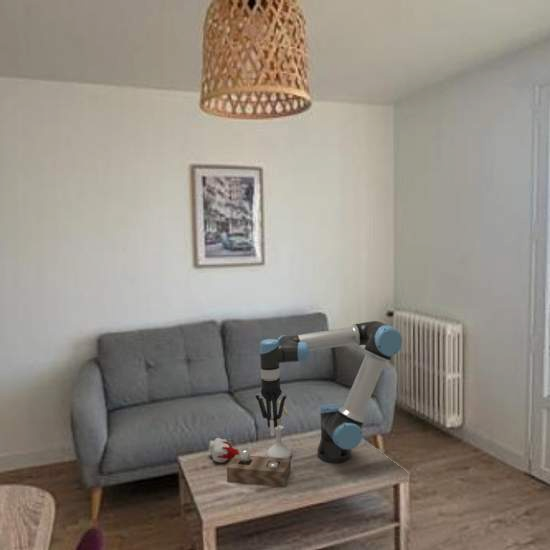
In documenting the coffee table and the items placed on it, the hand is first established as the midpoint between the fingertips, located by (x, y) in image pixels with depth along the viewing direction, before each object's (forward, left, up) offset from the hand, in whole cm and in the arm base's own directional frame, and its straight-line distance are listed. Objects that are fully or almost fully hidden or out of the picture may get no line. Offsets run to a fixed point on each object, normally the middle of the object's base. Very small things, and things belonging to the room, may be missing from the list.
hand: (273, 434), depth 204 cm
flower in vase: (+2, -20, -19) cm, 27 cm away
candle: (+26, -12, -19) cm, 34 cm away
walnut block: (+6, 0, -18) cm, 20 cm away
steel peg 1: (+12, 0, -13) cm, 18 cm away
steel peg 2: (0, 0, -18) cm, 18 cm away
